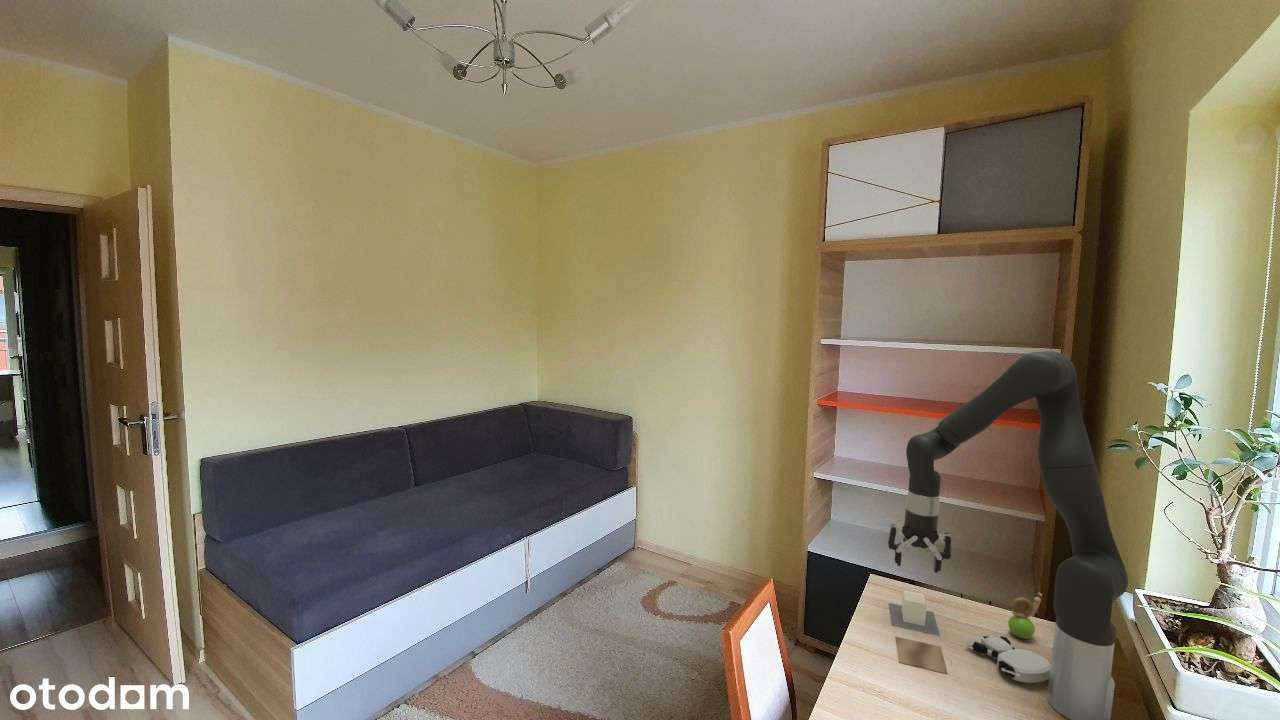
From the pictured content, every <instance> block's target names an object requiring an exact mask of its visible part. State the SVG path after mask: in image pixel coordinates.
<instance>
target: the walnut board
mask: <svg viewBox="0 0 1280 720" xmlns="http://www.w3.org/2000/svg"><path fill="white" fill-rule="evenodd" d="M894 637H895V644H896V645H895V646H896V651H897V653H896V654H897V659H898V664H902V665H906V666H910V667H913V668H917V669H922V670H926V671H931V672H935V673H939V674H943V675H945V676H946V675H947V676H948V675H949V672H948V669H947V666H946V662H945V661H946V660H945V659H944V654H943V650H942V647H941V645H935V644H931V643H927V642H921V641H918V640H914V639H910V638H904V637H902V636H901V637H899V636H897V635H895V636H894Z"/></svg>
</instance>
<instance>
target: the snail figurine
mask: <svg viewBox="0 0 1280 720" xmlns="http://www.w3.org/2000/svg"><path fill="white" fill-rule="evenodd" d="M1037 594H1038V596H1036V597H1034V599H1033V603H1032V602H1031V600H1030V599H1028V598H1026V597H1021V596H1020V597H1016V598H1015V599H1013V600H1012V602H1011V608H1012V609H1013V610H1012V611H1011V613H1012V615H1011V616H1010V617H1009V618H1008V620H1007V621H1008V622H1007V623H1008V624H1007V625H1008V629H1009V630H1010V632H1011V633H1012V634H1013V635H1014V636H1015V637H1017V638H1019V639H1023V640H1024V639H1025V640H1026V639H1030V638H1032V637H1033V636H1034V635H1035V632H1036V627H1035V625H1034V623H1033V621H1032V620H1031V619H1030V618H1031V617H1033V616H1035V614H1036V613H1037V612H1038V609H1039V607H1040V603H1042V602H1041V601H1042V599H1041V598H1042V596H1043V594H1042V593H1041V592H1038V593H1037Z"/></svg>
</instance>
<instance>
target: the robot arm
mask: <svg viewBox="0 0 1280 720" xmlns="http://www.w3.org/2000/svg"><path fill="white" fill-rule="evenodd" d="M1033 398H1035V400H1036V404H1037V407H1038V412H1039V417H1040V419H1039V420H1040V426H1039V427H1040V428H1039V436H1038V437H1039V438H1038V444H1037V445H1038V446H1037V459H1038V460H1037V461H1038V466H1039V471H1040V474H1041V479H1042V482H1043V486H1044V489H1045V492H1046V494H1047V495H1048V497H1049V499H1050V500H1051V502H1052V504H1053V505H1054V506H1055V508H1056V510H1057V511H1058V512H1059V514H1060V515H1061V517H1062V519H1063V521H1064V522H1065V525H1066V527H1067V530H1068V533H1069V537H1070V544H1071V549H1072V557H1068V558H1067V559H1064V560H1063V561H1062V562H1061V563H1060V564H1059V565H1058V567H1057V570H1056V572H1055V580H1054V593H1053V594H1054V596H1053V610H1054V613H1055V617H1056V619H1055V628H1054V636H1053V643H1052V644H1053V645H1052V653H1051V661H1050V662H1051V670H1050V678H1049V679H1048V687H1047V696H1046V697H1047V699H1046V700H1047V702H1048V703H1049V705H1050V706H1051V707H1052V708H1053V710H1055V711H1056V712H1058V713H1059V714H1060V715H1062V717H1063V716H1064V717H1066V718H1067V719H1069V720H1111V718H1112V717H1111V716H1112V709H1113V702H1114V694H1115V688H1116V687H1115V685H1116V682H1115V680H1114V678H1113V677H1112V676H1111V675H1112V670H1113V669H1112V668H1113V662H1114V661H1113V660H1114V650H1115V645H1116V637H1117V630H1116V626H1115V625H1114V624H1113V623H1112V613H1113V612H1112V611H1113V603H1114V601H1115V600H1117V599H1118V598H1120V597H1121V596H1123V595H1124V593H1125V592H1126V591H1127V589H1128V586H1129V577H1128V573H1127V570H1126V567H1125V564H1124V562H1123V559H1122V557H1121V554H1120V552H1119V548H1118V546H1117V543H1116V540H1115V539H1114V536H1113V535H1114V534H1113V533H1112V529H1111V526H1110V522H1109V516H1108V511H1107V507H1106V502H1105V499H1104V495H1103V491H1102V485H1101V480H1100V476H1099V473H1098V472H1099V471H1098V468H1097V464H1096V460H1095V457H1094V454H1093V449H1092V447H1091V443H1090V440H1089V435H1088V432H1087V429H1086V425H1085V423H1084V419H1083V415H1082V410H1081V403H1080V394H1079V385H1078V377H1077V371H1076V367H1075V365H1074V363H1073V362H1072V361H1071V359H1070V358H1069V357H1068V356H1066V355H1065V354H1063V353H1060V352H1058V351H1053V350H1052V351H1051V350H1049V351H1048V350H1046V351H1045V350H1044V351H1033V352H1029V353H1028V352H1027V353H1026V354H1023V355H1022V356H1020V357H1019V358H1018V359H1017V360H1016V361H1015V362H1014V363H1012V364H1011V366H1009V367H1008V368H1007V370H1006V371H1004V372H1003V373H1002V374H1001V376H999V377H998V378H997V379H996V380H995V381H994V382H993V383H991V384H990V385H989V386H988V387H987V388H985V389H984V390H983V391H982V392H980V393H978V394H977V395H976V396H975V397H973V398H972V399H970V400H968V401H967V402H965V403H964V404H963V405H961V406H960V407H958V408H956V409H955V410H954V411H952V412H951V413H950V414H948V415H946V416H945V417H943V418H942V419H941V420H940V421H939V423H938V425H937V426H936V427H935V428H933V429H932V430H930V431H928V432H925V433H920V434H917V435H916V434H915V435H914V436H912V437H911V438H910V439H909V440H908V442H907V445H906V450H905V452H906V453H905V455H906V460H907V466H908V467H907V468H908V471H909V481H908V490H907V493H906V494H907V495H906V501H905V502H906V503H905V512H904V523H903V526H902V527H900V526H896V525H895V524H892V523H891V524H890V528H889V534H888V539H887V540H888V541H887V544H888V546H887V547H888V548H889V549H890V550H893V551H894V562H895V564H896V565H897V567H901V564H902V555H903V554H902V552H903V551H904V550H905V549H908V548H909V546H912V547H914V548H921V549H925V550H926V549H928V548H929V550H930V551H931V553H932V554H933V555H934V557H933V567H932V570H933V572H934V573H935V574H938V572H940V571H942V570H941V569H942V561H943V560H944V559H946V560H950V559H951V552H952V538H951V536H950V533H949V532H944V533H938V524H939V517H940V516H939V515H940V510H941V509H940V504H941V503H940V492H941V480H942V479H941V475H940V473H939V472H938V471H937V470H935V461H937V460H940V459H942V458H945V457H946V456H948V455H949V454H951V453H952V452H953V451H954V450H956V449H957V448H959V446H960V445H962V444H963V443H965V442H968V441H969V440H971V439H973V438H974V437H976V436H978V434H980V433H982V432H983V431H985V430H986V429H987V428H989V427H990V426H991V425H992V424H993V423H995V421H997V419H999V418H1000V417H1001V416H1002V415H1004V414H1005V413H1006V412H1008V411H1009V410H1011V409H1013V408H1014V407H1016V406H1017V405H1019V404H1022V403H1023V402H1027V401H1028V400H1031V399H1033ZM900 533H901V534H902V535H903V537H902V538H901V539H900V541H898V542H897V543H895V542H896V541H895V539H896V536H899V535H900ZM938 540H940V542H941V543H942V544H943V551H940V550H939V549H938V548H937V546H936V545H935V543H936V542H937V541H938Z"/></svg>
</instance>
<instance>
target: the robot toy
mask: <svg viewBox="0 0 1280 720" xmlns="http://www.w3.org/2000/svg"><path fill="white" fill-rule="evenodd" d="M965 645H966V646H967V647H969V648H972V650H973V652H977V653H979V654H986V655H987V656H989V657H991V658H993V659H994V660H996V661H997V662H996V663H997V667H998V669H999V670H1000V671H1001V672H1003V673H1004V674H1005V675H1007V676H1008V677H1010V679H1012V680H1014V681H1016V682H1021V683H1029V684H1033V683H1042V682H1045V681H1047V680H1049V678H1050V670H1051V661H1049V660H1048V659H1046V658H1045V657H1043V656H1041V655H1040V654H1038V653H1037V652H1034V651H1033V650H1028V649H1024V648H1023V649H1022V648H1021V649H1018V648H1015V647H1014V646H1012V643H1011V641H1010V639H1008V637H1006V636H1004V635H996V636H992V635H988V634H987V635H986V636H985V635H984V636H981V638H980V642H978V641H971V640H967V641H965Z"/></svg>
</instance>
